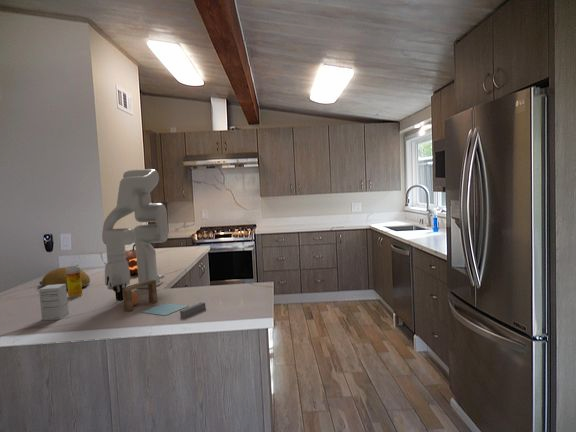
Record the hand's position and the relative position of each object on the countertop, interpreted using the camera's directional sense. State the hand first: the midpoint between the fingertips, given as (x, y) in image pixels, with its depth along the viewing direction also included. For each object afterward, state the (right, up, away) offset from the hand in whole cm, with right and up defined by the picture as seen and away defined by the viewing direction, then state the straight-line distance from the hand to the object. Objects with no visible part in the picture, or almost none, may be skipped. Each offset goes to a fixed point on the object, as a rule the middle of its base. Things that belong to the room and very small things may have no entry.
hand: (120, 300), depth 179 cm
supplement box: (-20, -4, -15) cm, 25 cm away
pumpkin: (-20, +2, +72) cm, 75 cm away
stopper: (+37, -1, -20) cm, 42 cm away
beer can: (-29, -2, +19) cm, 35 cm away
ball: (+7, +1, -4) cm, 8 cm away
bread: (-47, -2, +46) cm, 66 cm away
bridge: (+12, -1, -6) cm, 13 cm away
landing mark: (+24, -1, -13) cm, 27 cm away
